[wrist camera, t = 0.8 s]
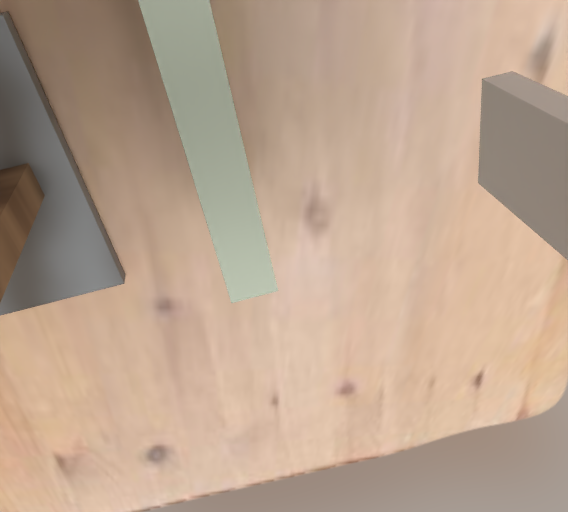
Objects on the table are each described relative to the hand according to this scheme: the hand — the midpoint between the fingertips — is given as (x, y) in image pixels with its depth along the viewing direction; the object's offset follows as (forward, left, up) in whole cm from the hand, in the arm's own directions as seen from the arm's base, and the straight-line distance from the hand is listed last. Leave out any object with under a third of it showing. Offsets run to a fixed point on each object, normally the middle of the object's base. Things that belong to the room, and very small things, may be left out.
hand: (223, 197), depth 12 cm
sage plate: (0, 0, -18) cm, 18 cm away
